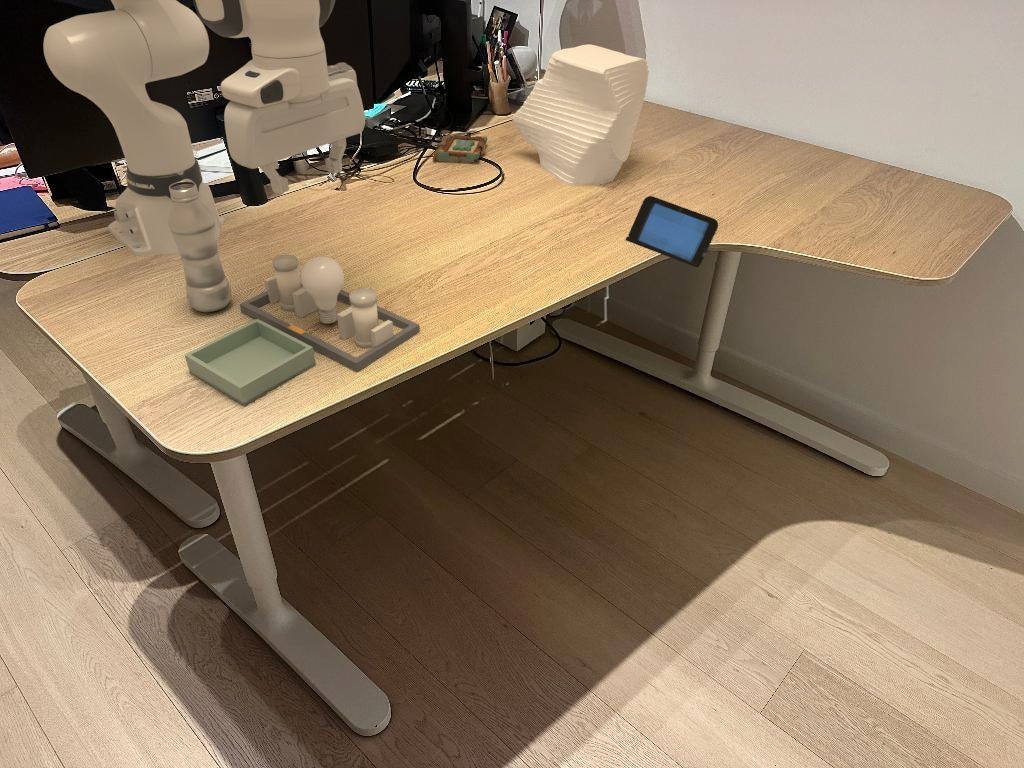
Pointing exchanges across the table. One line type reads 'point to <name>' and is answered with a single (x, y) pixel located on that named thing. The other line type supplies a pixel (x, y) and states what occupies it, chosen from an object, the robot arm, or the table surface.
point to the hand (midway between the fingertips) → (308, 181)
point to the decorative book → (460, 149)
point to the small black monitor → (673, 231)
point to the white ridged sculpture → (584, 113)
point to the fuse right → (364, 315)
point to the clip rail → (305, 305)
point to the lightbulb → (323, 285)
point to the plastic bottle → (198, 248)
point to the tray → (250, 361)
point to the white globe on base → (287, 279)
